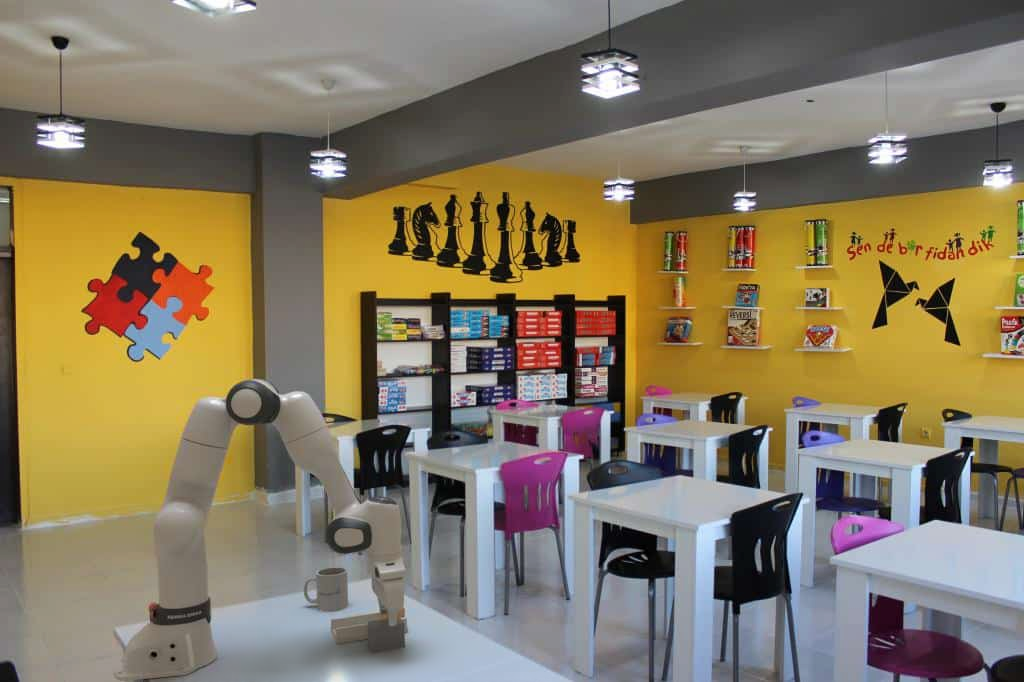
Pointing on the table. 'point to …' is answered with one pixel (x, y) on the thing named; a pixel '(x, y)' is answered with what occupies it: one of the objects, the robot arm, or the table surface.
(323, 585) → the mug
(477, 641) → the table surface
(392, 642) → the block
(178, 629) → the robot arm
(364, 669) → the table surface
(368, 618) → the rail
